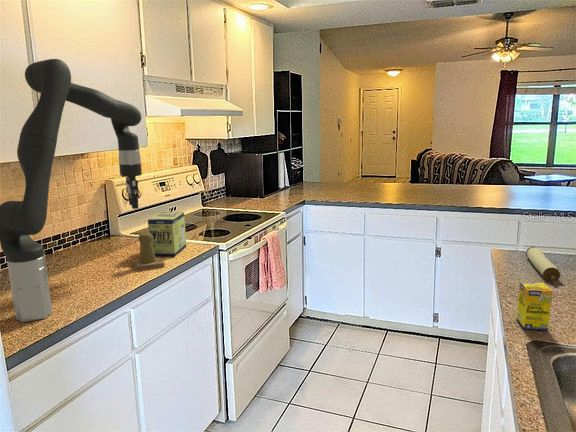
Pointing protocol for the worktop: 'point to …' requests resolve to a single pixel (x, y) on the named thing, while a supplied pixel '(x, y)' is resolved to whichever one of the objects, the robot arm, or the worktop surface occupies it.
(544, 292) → the supplement box
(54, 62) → the robot arm
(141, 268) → the brown square tray
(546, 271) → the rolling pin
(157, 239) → the protein box
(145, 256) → the cork
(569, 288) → the worktop surface
